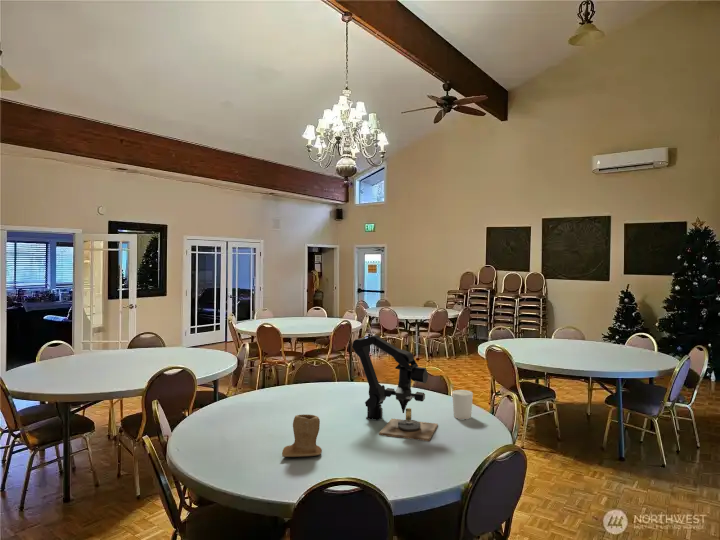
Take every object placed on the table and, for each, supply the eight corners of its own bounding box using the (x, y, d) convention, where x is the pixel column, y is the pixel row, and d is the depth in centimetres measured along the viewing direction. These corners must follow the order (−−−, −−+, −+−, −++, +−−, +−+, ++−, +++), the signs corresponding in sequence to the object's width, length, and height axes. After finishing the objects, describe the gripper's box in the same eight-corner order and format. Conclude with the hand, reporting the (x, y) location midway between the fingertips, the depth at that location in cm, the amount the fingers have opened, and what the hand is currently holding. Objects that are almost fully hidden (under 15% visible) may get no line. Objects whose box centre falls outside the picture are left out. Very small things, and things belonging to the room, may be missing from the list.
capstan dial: (421, 431, 201) (421, 418, 201) (398, 431, 202) (398, 417, 202) (419, 421, 216) (419, 408, 216) (397, 420, 216) (397, 407, 216)
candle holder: (449, 418, 223) (449, 393, 223) (455, 412, 232) (455, 388, 232) (469, 421, 218) (469, 396, 218) (475, 415, 227) (475, 391, 227)
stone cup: (321, 447, 187) (321, 410, 187) (322, 459, 175) (322, 419, 175) (283, 449, 185) (283, 411, 185) (281, 461, 173) (281, 421, 173)
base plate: (379, 434, 201) (379, 431, 201) (391, 420, 220) (391, 417, 220) (429, 441, 193) (429, 438, 193) (437, 425, 212) (437, 423, 212)
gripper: (381, 380, 210) (379, 414, 210) (421, 385, 204) (419, 421, 204) (387, 375, 221) (385, 408, 221) (426, 380, 215) (424, 414, 215)
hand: (403, 412), depth 215 cm, fingers closed
